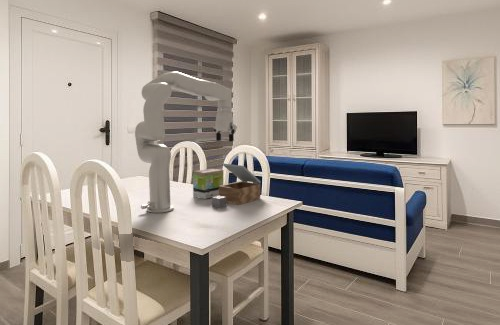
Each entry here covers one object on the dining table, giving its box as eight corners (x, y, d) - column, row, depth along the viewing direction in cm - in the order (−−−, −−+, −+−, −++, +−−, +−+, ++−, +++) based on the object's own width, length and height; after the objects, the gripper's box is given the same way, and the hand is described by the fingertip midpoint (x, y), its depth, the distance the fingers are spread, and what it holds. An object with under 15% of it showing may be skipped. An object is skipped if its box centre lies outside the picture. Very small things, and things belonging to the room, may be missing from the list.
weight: (219, 208, 170) (219, 198, 169) (212, 207, 173) (212, 197, 172) (226, 206, 173) (226, 196, 173) (219, 205, 176) (219, 195, 176)
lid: (242, 167, 177) (243, 165, 177) (222, 165, 186) (223, 163, 186) (260, 183, 190) (261, 181, 190) (240, 180, 198) (241, 178, 199)
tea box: (205, 199, 189) (205, 172, 187) (192, 197, 195) (192, 170, 193) (224, 194, 200) (223, 169, 199) (211, 192, 207) (211, 167, 205)
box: (238, 204, 177) (238, 189, 176) (218, 200, 186) (218, 186, 185) (260, 198, 191) (260, 184, 190) (240, 194, 199) (240, 181, 198)
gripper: (208, 110, 197) (209, 140, 199) (231, 110, 187) (231, 142, 189) (218, 110, 203) (218, 140, 205) (240, 110, 192) (240, 141, 195)
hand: (224, 140), depth 197 cm, fingers open, 9 cm apart
